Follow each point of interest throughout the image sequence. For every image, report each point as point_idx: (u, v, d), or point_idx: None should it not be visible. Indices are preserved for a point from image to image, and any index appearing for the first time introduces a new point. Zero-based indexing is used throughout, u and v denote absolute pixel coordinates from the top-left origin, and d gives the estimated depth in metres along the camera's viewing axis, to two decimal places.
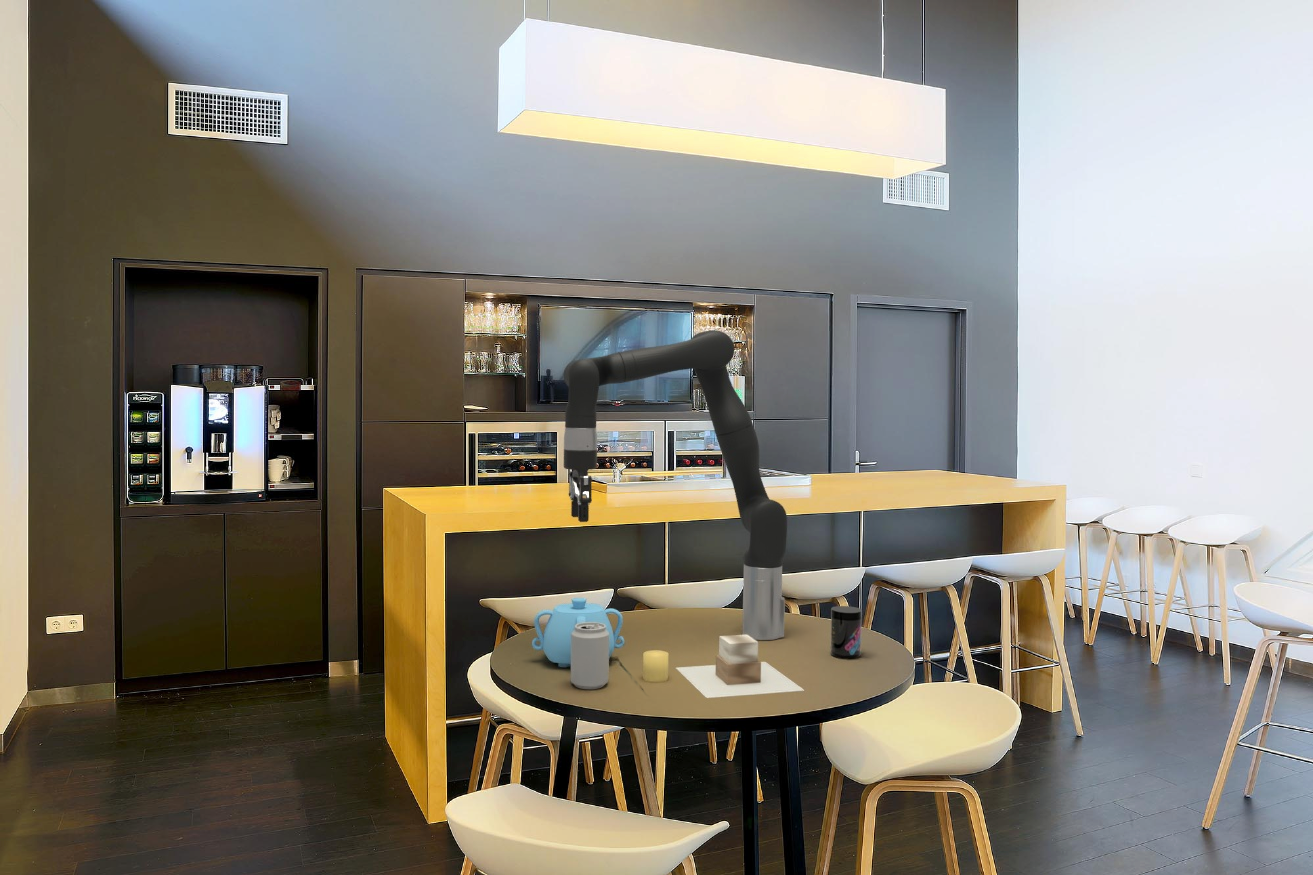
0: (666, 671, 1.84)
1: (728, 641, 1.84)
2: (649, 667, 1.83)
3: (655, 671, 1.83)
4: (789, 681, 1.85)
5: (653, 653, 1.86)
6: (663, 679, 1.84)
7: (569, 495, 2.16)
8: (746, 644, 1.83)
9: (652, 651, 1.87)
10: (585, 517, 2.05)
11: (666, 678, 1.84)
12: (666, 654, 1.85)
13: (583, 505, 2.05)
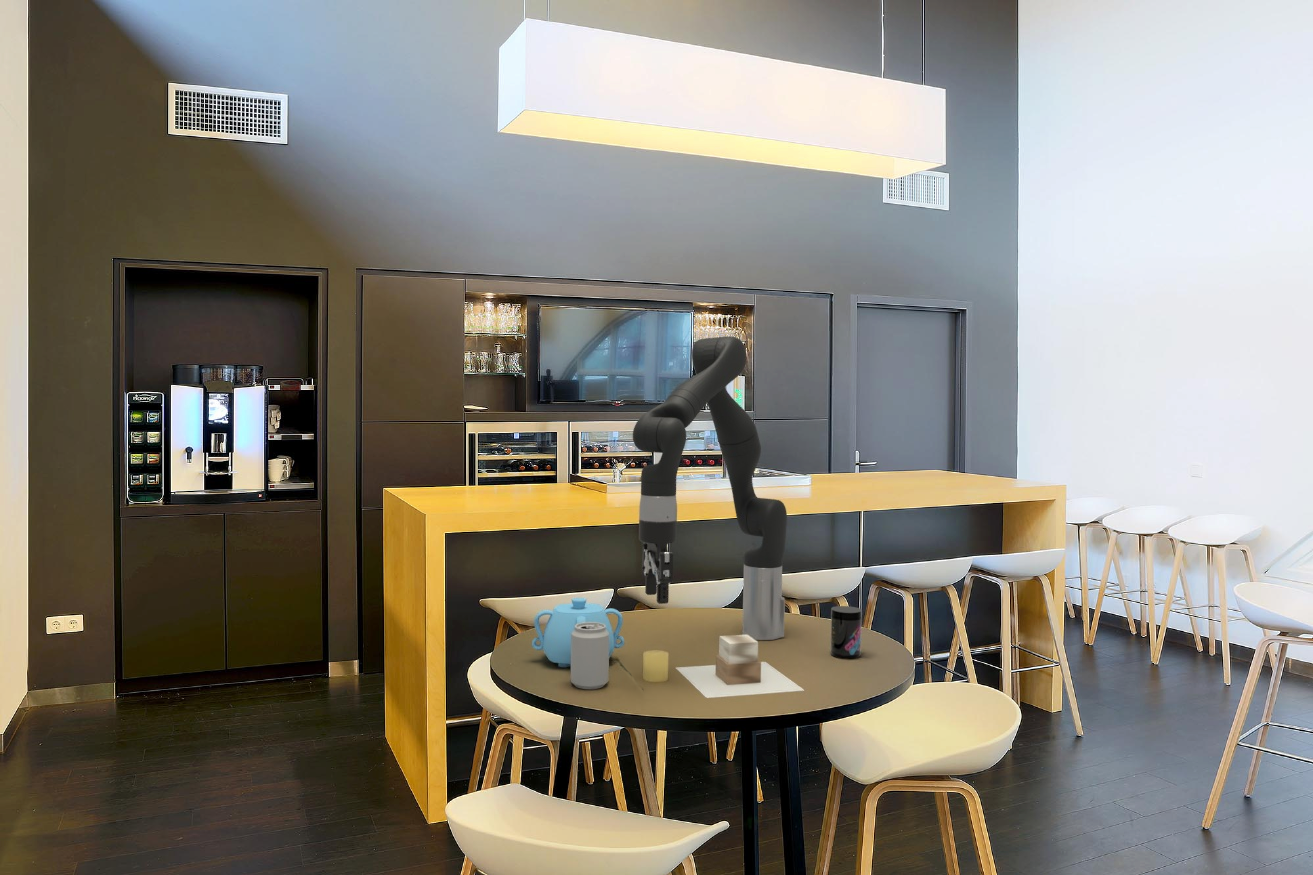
0: (666, 671, 1.84)
1: (728, 641, 1.84)
2: (649, 667, 1.83)
3: (655, 671, 1.83)
4: (789, 681, 1.85)
5: (653, 653, 1.86)
6: (663, 679, 1.84)
7: (642, 569, 1.91)
8: (746, 644, 1.83)
9: (652, 651, 1.87)
10: (665, 598, 1.80)
11: (666, 678, 1.84)
12: (666, 654, 1.85)
13: (663, 585, 1.79)
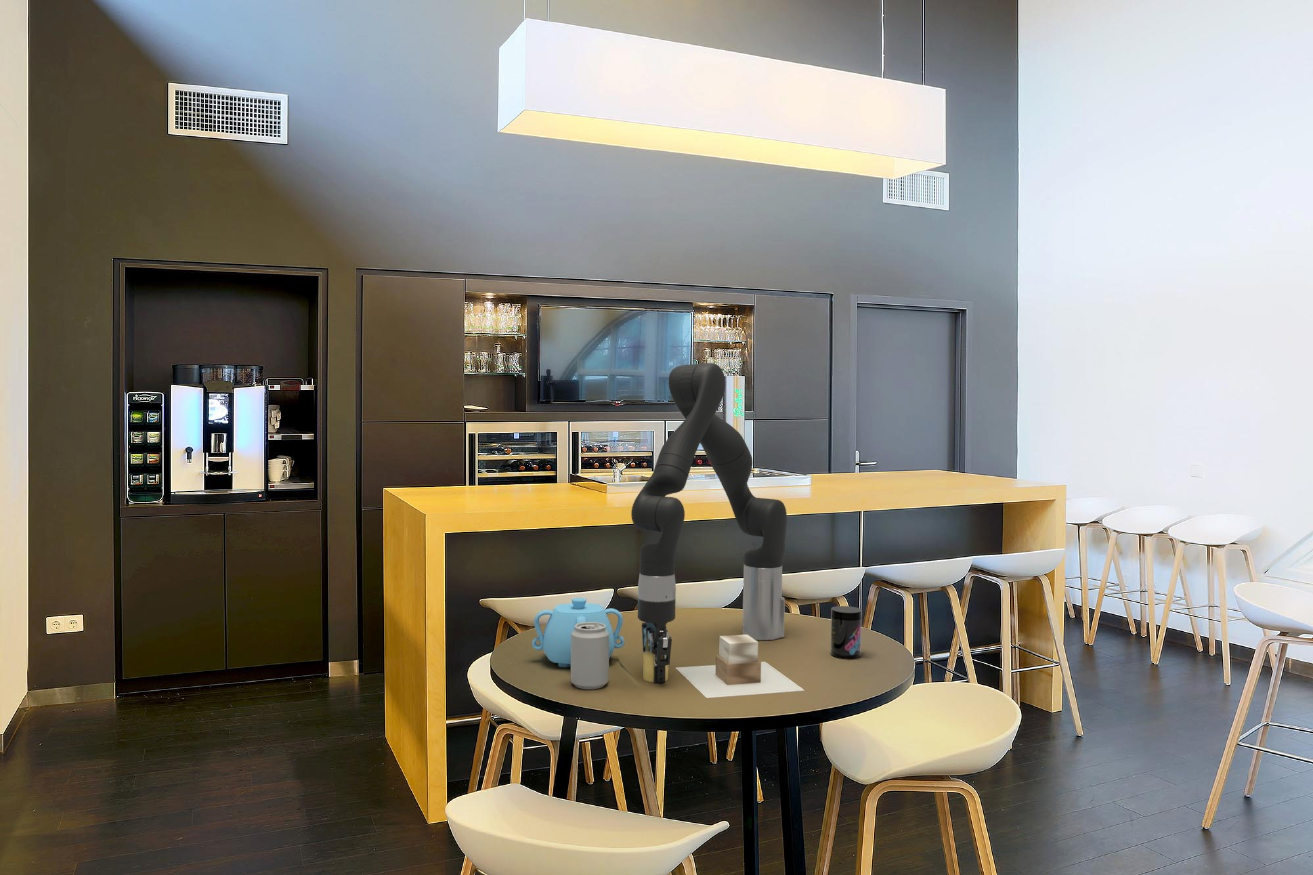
0: (666, 671, 1.84)
1: (728, 641, 1.84)
2: (649, 667, 1.83)
3: None
4: (789, 681, 1.85)
5: None
6: None
7: (643, 650, 1.90)
8: (746, 644, 1.83)
9: None
10: (662, 680, 1.82)
11: (666, 678, 1.84)
12: None
13: (660, 667, 1.82)
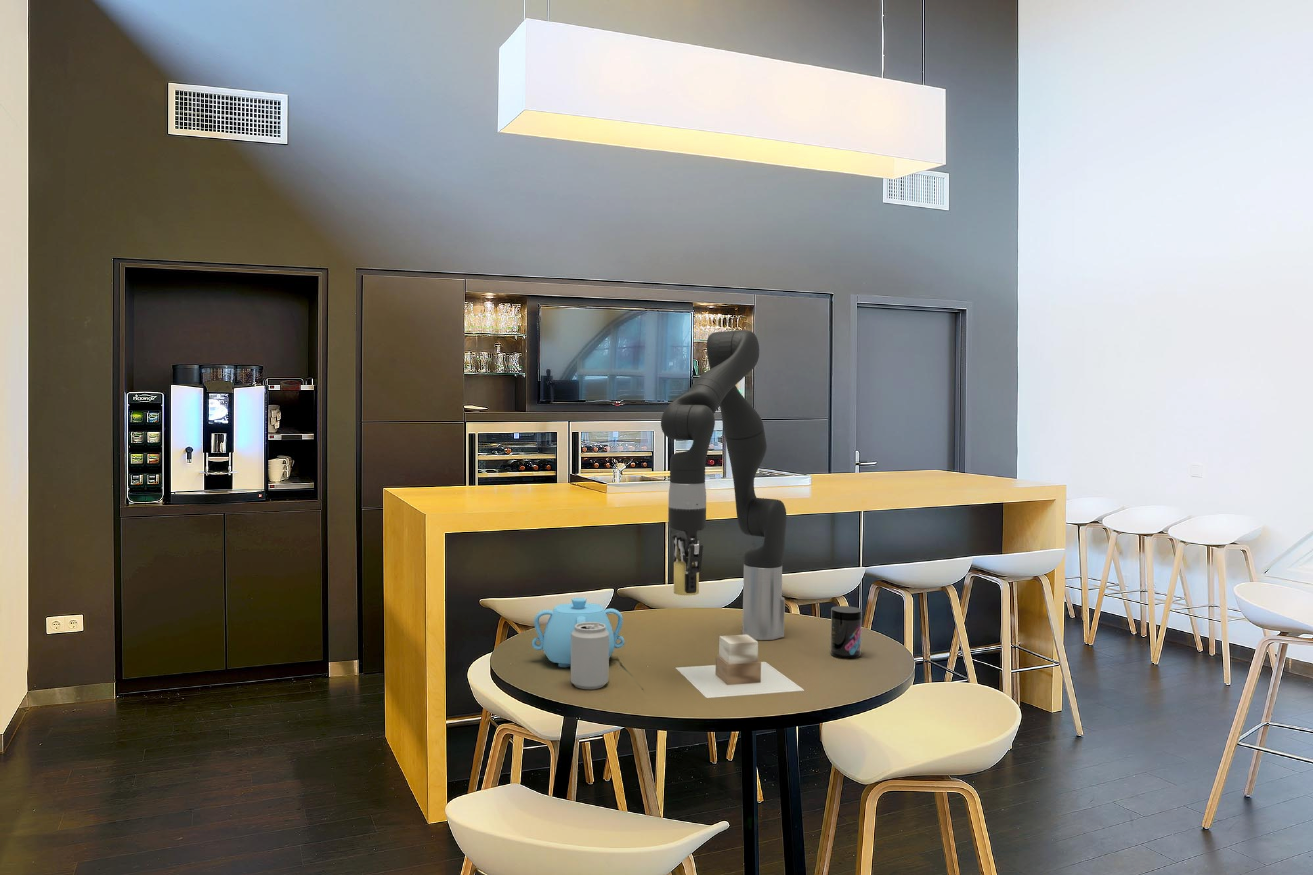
0: (697, 580, 1.84)
1: (728, 641, 1.84)
2: (679, 575, 1.83)
3: None
4: (789, 681, 1.85)
5: None
6: None
7: (674, 561, 1.90)
8: (746, 644, 1.83)
9: None
10: (693, 588, 1.82)
11: (697, 587, 1.84)
12: None
13: (691, 575, 1.81)
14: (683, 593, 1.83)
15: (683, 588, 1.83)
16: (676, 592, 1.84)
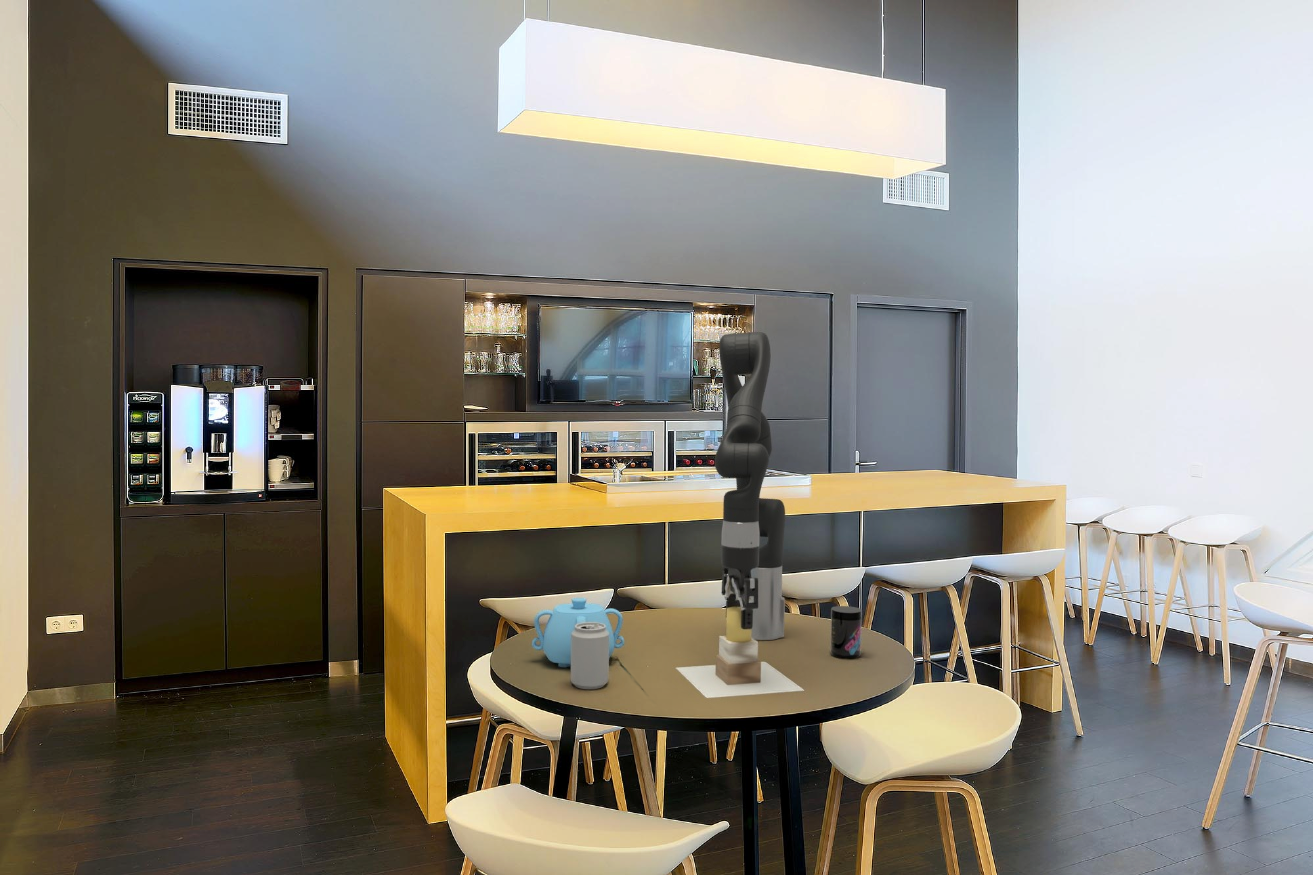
0: None
1: (728, 641, 1.84)
2: (733, 622, 1.83)
3: (739, 626, 1.83)
4: (789, 681, 1.85)
5: (736, 609, 1.86)
6: (747, 634, 1.84)
7: (722, 593, 1.91)
8: (746, 644, 1.83)
9: (735, 607, 1.87)
10: (749, 624, 1.81)
11: (750, 634, 1.84)
12: None
13: (748, 611, 1.80)
14: (736, 640, 1.83)
15: (736, 635, 1.83)
16: (729, 639, 1.84)
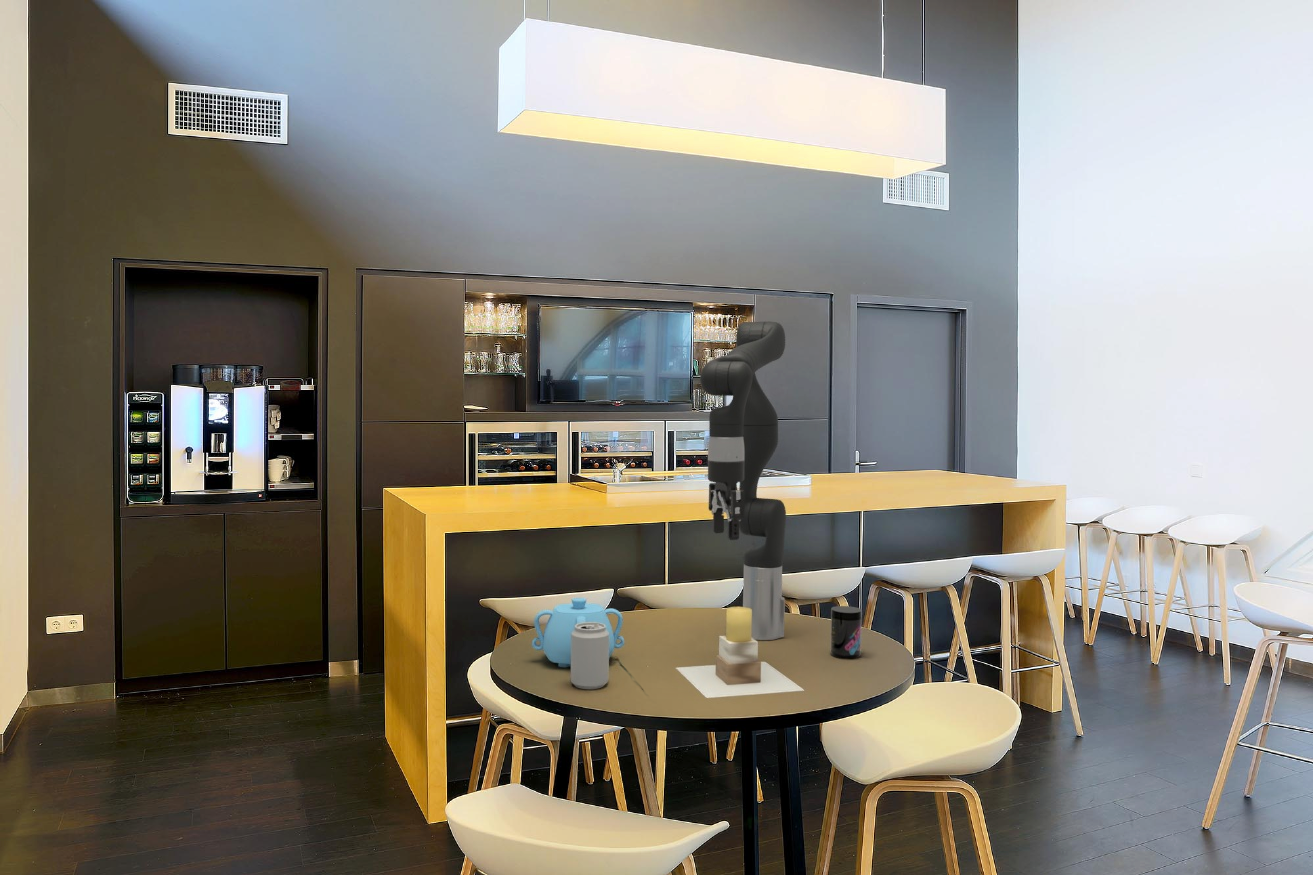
0: (750, 627, 1.84)
1: (728, 641, 1.84)
2: (733, 622, 1.83)
3: (739, 626, 1.83)
4: (789, 681, 1.85)
5: (736, 609, 1.86)
6: (747, 634, 1.84)
7: (709, 509, 1.98)
8: (746, 644, 1.83)
9: (735, 607, 1.87)
10: (736, 535, 1.88)
11: (750, 634, 1.84)
12: (749, 610, 1.85)
13: (734, 522, 1.87)
14: (736, 640, 1.83)
15: (736, 635, 1.83)
16: (729, 639, 1.84)
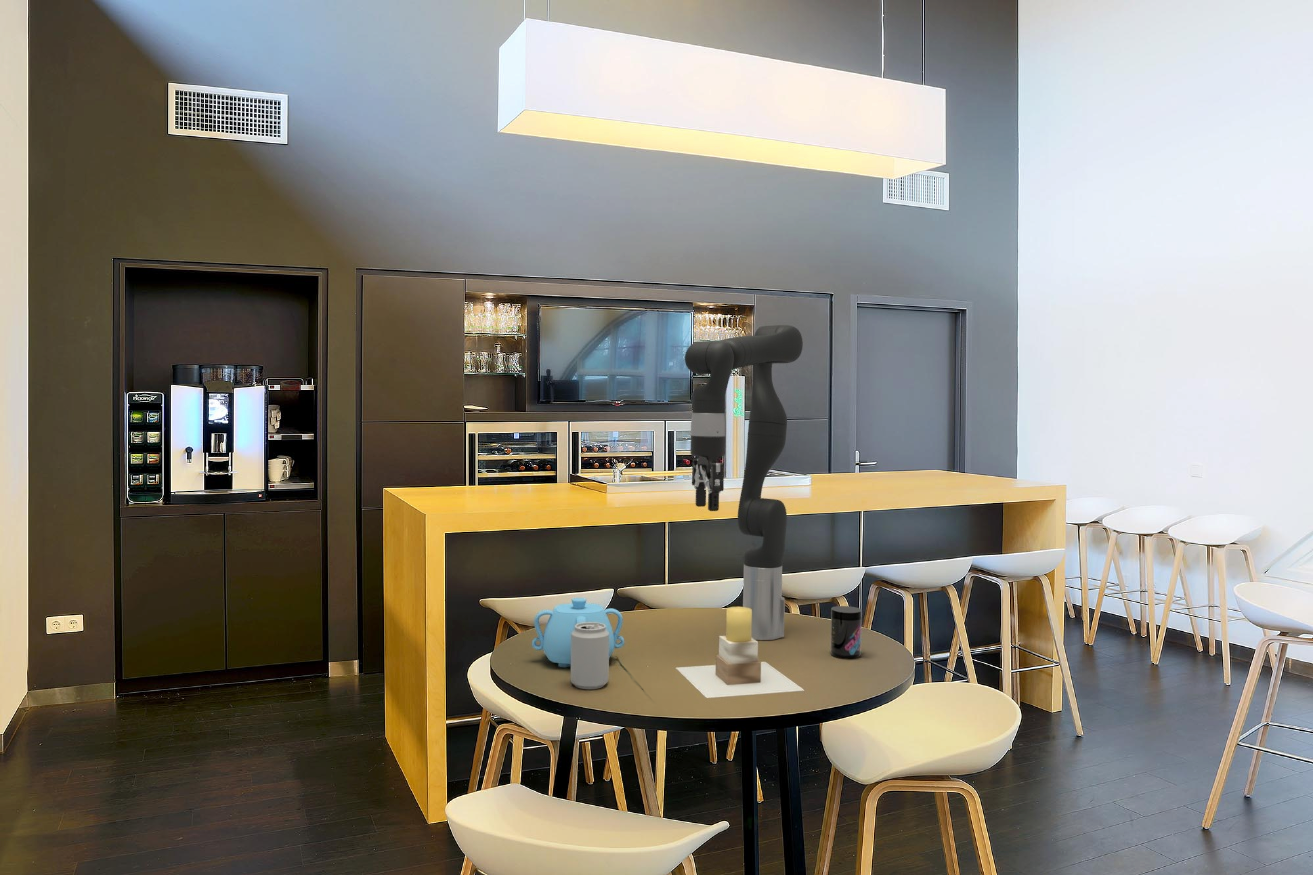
0: (750, 627, 1.84)
1: (728, 641, 1.84)
2: (733, 622, 1.83)
3: (739, 626, 1.83)
4: (789, 681, 1.85)
5: (736, 609, 1.86)
6: (747, 634, 1.84)
7: (692, 484, 2.07)
8: (746, 644, 1.83)
9: (735, 607, 1.87)
10: (716, 506, 1.97)
11: (750, 634, 1.84)
12: (749, 610, 1.85)
13: (714, 493, 1.96)
14: (736, 640, 1.83)
15: (736, 635, 1.83)
16: (729, 639, 1.84)
